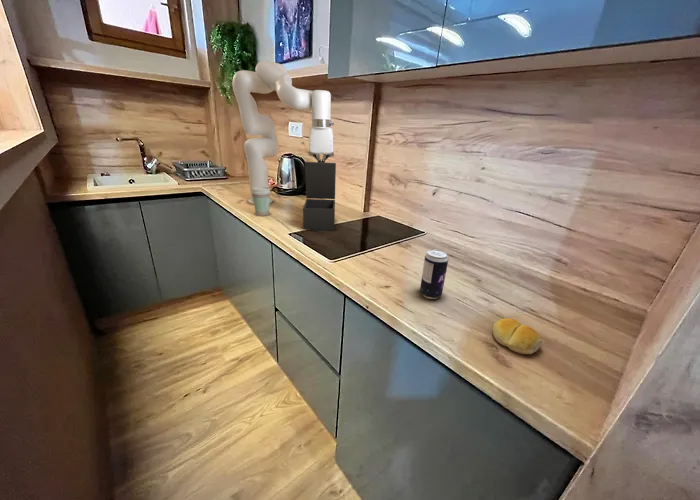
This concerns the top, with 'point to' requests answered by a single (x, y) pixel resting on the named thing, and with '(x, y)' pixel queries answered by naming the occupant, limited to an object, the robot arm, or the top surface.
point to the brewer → (319, 214)
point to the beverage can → (434, 274)
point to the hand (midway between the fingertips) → (321, 170)
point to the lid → (320, 180)
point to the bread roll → (516, 336)
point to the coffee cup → (261, 200)
